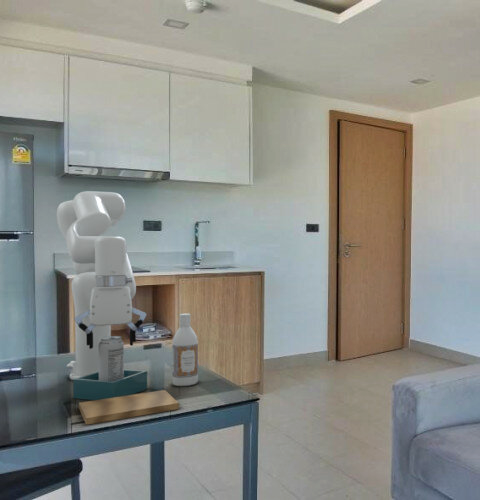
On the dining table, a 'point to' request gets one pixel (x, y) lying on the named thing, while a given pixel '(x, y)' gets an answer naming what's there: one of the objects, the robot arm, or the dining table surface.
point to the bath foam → (185, 354)
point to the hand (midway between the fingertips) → (111, 346)
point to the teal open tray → (109, 385)
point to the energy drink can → (111, 358)
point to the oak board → (127, 406)
